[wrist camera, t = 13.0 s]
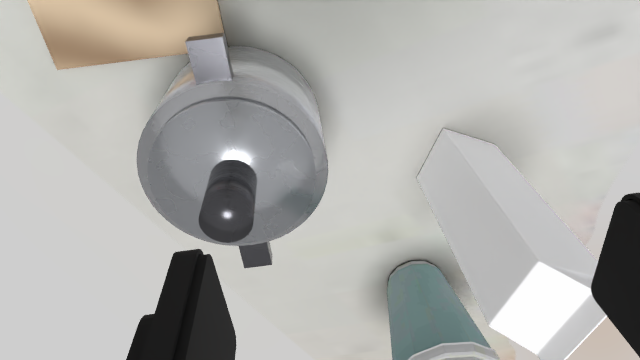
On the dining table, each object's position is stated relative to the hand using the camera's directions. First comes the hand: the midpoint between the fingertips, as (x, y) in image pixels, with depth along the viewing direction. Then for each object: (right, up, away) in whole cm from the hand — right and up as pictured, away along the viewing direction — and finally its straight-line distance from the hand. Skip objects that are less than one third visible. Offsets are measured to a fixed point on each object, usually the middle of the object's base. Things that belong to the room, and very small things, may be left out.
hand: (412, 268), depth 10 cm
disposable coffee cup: (+9, -10, +43) cm, 45 cm away
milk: (+11, +4, +34) cm, 36 cm away
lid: (-8, +3, +23) cm, 24 cm away
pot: (-9, +7, +30) cm, 33 cm away
